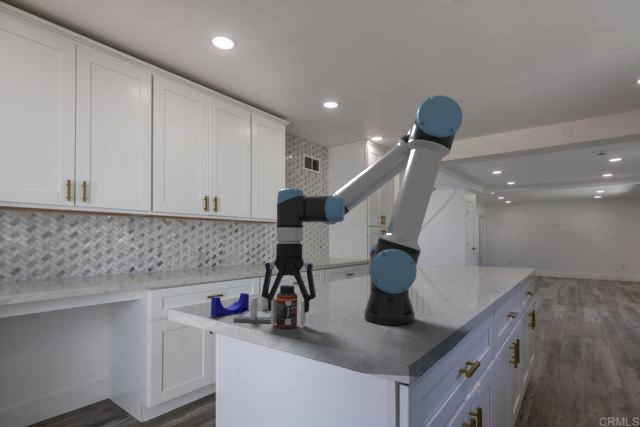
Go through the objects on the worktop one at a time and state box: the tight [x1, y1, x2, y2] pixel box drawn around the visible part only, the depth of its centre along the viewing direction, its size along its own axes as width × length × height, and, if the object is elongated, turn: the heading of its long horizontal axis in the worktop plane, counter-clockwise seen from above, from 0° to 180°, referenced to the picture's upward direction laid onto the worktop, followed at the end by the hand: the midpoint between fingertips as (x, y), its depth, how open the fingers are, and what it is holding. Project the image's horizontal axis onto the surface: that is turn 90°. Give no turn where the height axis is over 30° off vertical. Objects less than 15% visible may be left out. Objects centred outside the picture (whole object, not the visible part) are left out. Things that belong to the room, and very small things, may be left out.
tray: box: [233, 296, 271, 324], centre depth 107 cm, size 12×13×7 cm
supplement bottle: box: [275, 284, 298, 329], centre depth 97 cm, size 6×6×11 cm
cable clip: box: [210, 292, 250, 318], centre depth 113 cm, size 12×4×6 cm, turn 134°
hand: (288, 323), depth 97 cm, fingers open, 8 cm apart
